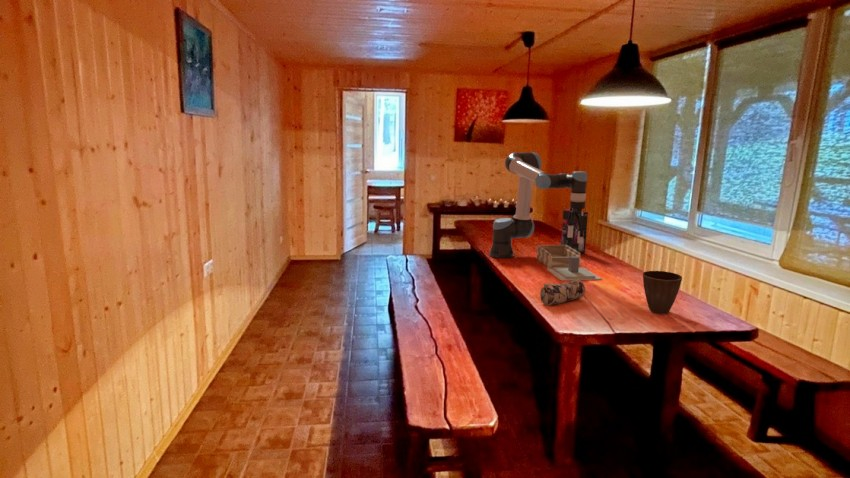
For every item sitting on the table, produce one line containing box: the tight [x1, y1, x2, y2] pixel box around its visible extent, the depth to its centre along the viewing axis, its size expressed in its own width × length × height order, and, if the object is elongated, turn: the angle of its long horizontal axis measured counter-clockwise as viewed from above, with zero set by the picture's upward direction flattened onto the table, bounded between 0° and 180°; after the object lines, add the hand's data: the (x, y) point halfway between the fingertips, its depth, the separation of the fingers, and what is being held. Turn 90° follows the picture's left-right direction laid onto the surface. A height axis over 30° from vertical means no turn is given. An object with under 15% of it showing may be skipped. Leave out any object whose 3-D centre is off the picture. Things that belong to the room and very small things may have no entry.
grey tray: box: [546, 267, 603, 282], centre depth 261 cm, size 22×22×1 cm
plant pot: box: [642, 270, 683, 315], centre depth 203 cm, size 15×15×16 cm
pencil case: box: [539, 279, 586, 307], centre depth 217 cm, size 22×8×10 cm, turn 121°
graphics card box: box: [560, 208, 589, 254], centre depth 313 cm, size 17×7×27 cm, turn 25°
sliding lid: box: [552, 256, 596, 279], centre depth 260 cm, size 20×16×9 cm
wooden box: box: [536, 244, 582, 269], centre depth 283 cm, size 22×18×9 cm
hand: (574, 240), depth 257 cm, fingers open, 13 cm apart
